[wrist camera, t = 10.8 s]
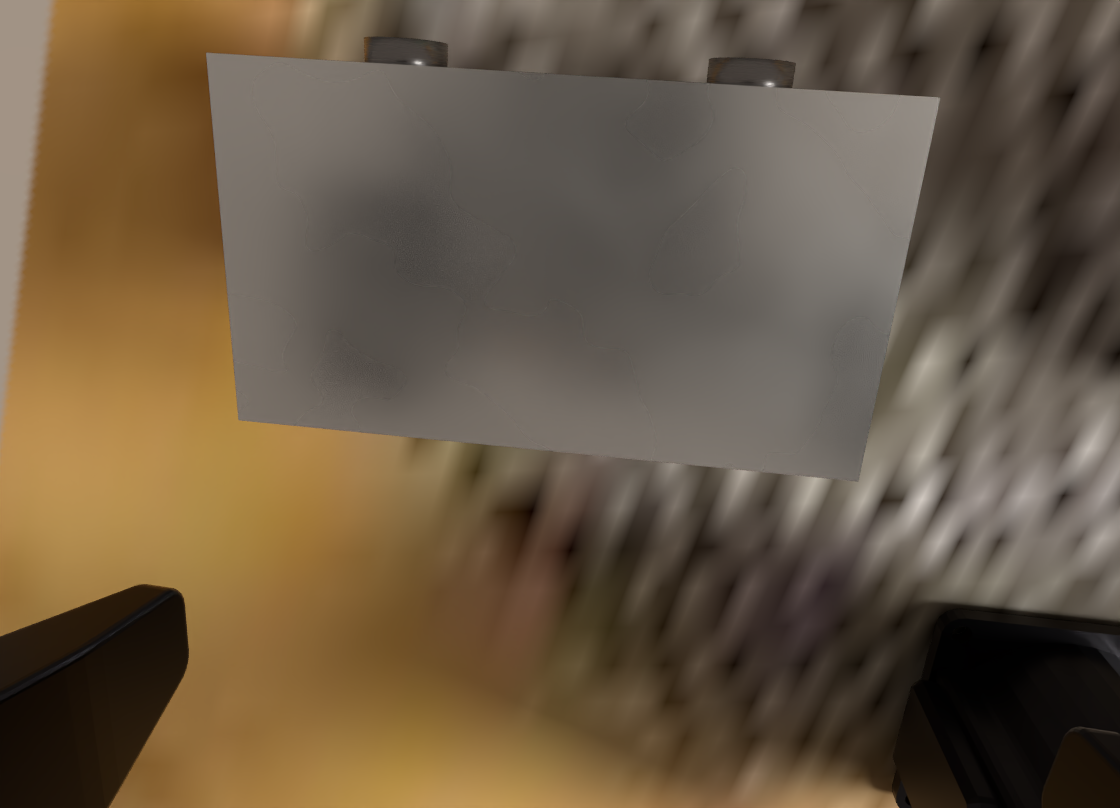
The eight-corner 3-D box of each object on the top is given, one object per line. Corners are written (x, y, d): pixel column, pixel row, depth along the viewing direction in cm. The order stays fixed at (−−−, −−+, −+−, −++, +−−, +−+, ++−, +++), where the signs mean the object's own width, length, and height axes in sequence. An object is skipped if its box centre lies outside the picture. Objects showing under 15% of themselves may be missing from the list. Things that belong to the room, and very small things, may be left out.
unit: (847, 87, 16) (1010, 64, 9) (801, 348, 18) (905, 505, 11) (364, 58, 17) (149, 14, 10) (371, 311, 19) (195, 434, 12)
